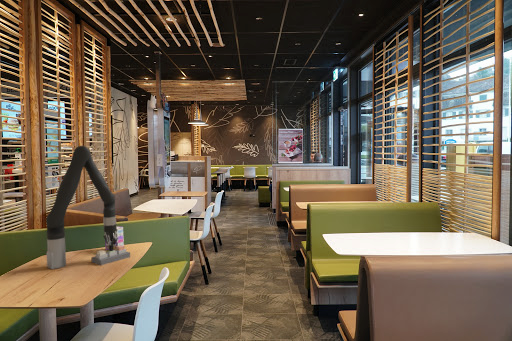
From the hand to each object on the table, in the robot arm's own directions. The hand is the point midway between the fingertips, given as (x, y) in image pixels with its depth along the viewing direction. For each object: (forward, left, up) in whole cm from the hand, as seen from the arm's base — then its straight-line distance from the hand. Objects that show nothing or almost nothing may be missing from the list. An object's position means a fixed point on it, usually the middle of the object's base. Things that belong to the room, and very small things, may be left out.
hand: (111, 250), depth 224 cm
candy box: (+14, +19, -6) cm, 24 cm away
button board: (0, 0, -6) cm, 6 cm away
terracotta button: (+6, 0, -1) cm, 6 cm away
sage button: (0, 0, -2) cm, 2 cm away
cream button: (-7, 0, -1) cm, 7 cm away
